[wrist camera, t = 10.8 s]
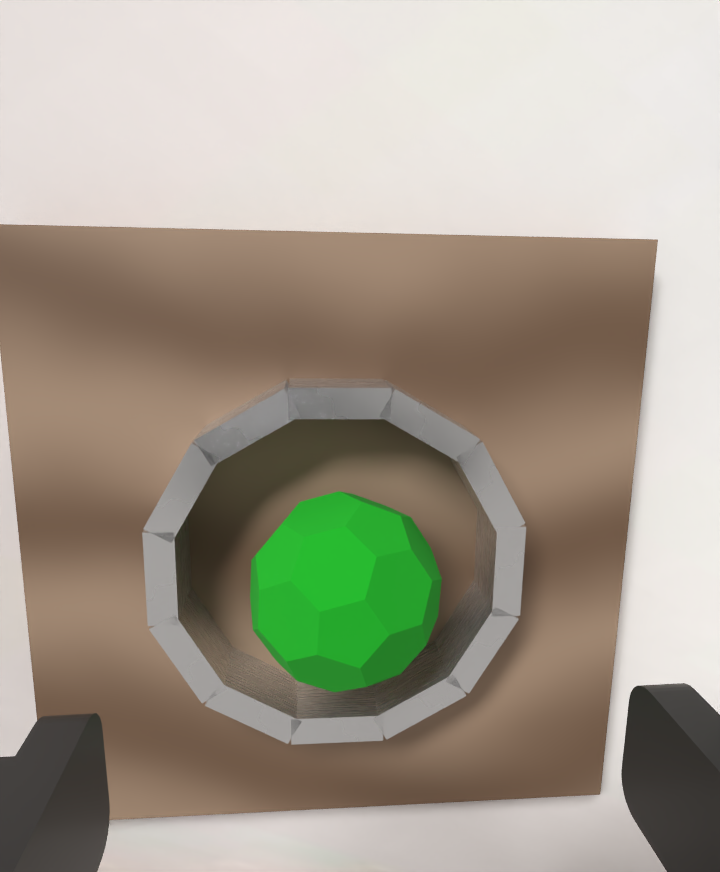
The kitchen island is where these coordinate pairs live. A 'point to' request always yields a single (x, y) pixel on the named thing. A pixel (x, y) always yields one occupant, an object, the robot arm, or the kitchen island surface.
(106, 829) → the robot arm
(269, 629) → the polyhedron
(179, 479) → the steel ring
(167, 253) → the walnut board
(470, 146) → the kitchen island surface
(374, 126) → the kitchen island surface
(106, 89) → the kitchen island surface
